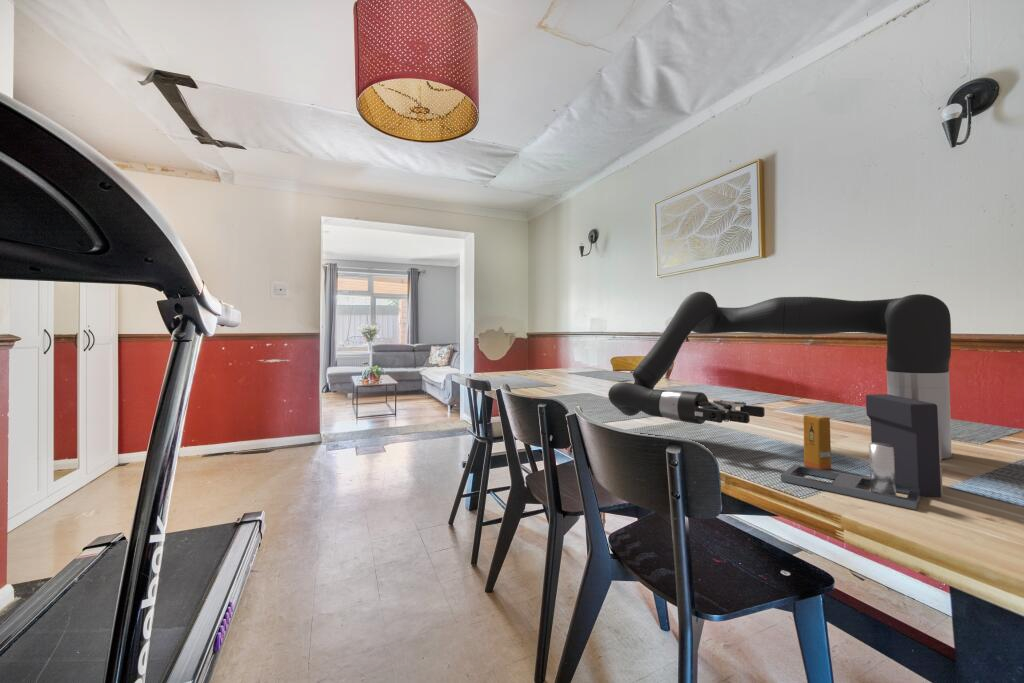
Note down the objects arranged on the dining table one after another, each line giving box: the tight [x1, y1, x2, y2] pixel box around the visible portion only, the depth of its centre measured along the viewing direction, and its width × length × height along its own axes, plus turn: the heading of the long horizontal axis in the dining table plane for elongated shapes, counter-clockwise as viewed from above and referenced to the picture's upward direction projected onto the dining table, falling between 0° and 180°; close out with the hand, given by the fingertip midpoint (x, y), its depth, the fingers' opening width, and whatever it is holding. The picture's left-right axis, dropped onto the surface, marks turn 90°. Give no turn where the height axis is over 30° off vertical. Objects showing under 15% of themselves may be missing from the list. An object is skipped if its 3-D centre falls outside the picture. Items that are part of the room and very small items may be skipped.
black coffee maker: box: [865, 394, 944, 498], centre depth 68 cm, size 11×4×15 cm, turn 168°
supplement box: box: [803, 414, 832, 470], centre depth 78 cm, size 3×3×10 cm
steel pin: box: [868, 442, 897, 496], centre depth 64 cm, size 3×3×8 cm
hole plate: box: [780, 463, 922, 511], centre depth 67 cm, size 8×17×1 cm, turn 40°
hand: (756, 415), depth 86 cm, fingers open, 8 cm apart
